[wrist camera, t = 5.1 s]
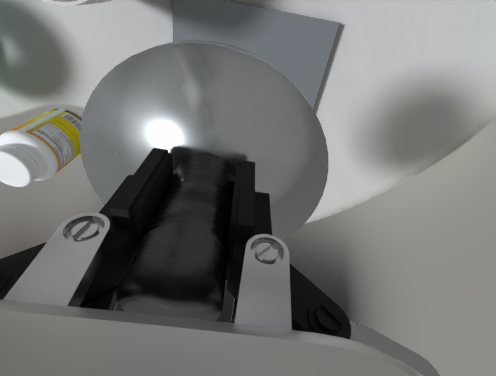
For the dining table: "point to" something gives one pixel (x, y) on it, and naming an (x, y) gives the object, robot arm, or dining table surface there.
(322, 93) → the dining table surface
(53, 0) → the cup
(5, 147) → the supplement bottle
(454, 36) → the dining table surface
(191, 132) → the lid
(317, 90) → the mat
